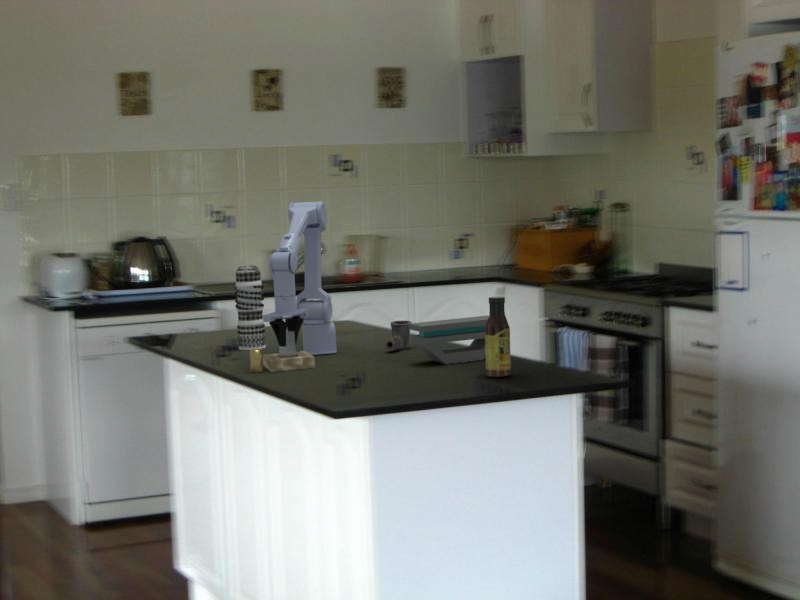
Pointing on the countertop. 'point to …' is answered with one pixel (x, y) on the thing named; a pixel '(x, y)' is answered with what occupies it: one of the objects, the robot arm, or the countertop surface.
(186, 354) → the countertop surface
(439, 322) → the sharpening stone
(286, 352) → the square bit
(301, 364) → the socket block
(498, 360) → the sauce bottle
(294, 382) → the countertop surface
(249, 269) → the decorative candle
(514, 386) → the countertop surface
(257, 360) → the cylinder
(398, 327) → the pipe
